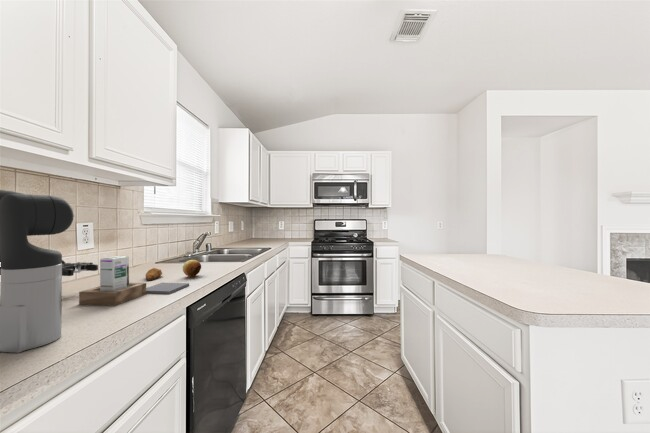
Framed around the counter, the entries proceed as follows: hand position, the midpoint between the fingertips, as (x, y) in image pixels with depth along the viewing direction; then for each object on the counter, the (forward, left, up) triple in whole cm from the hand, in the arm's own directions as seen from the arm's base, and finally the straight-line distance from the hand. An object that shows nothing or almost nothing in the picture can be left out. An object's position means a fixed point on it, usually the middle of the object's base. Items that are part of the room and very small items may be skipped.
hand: (85, 270), depth 92 cm
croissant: (+31, -1, -10) cm, 33 cm away
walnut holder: (0, -11, -10) cm, 15 cm away
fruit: (+35, -17, -10) cm, 40 cm away
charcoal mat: (+13, -20, -10) cm, 26 cm away
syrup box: (0, -11, -10) cm, 15 cm away
